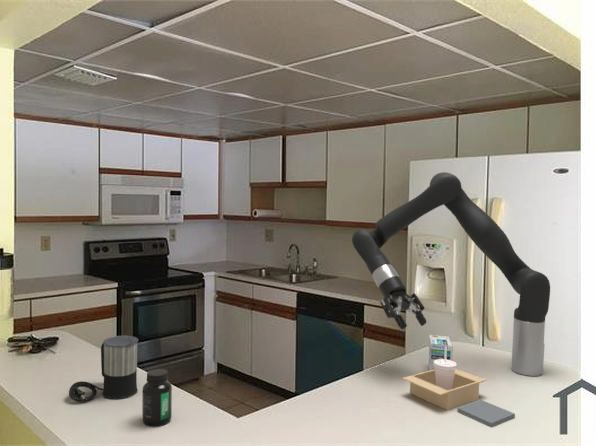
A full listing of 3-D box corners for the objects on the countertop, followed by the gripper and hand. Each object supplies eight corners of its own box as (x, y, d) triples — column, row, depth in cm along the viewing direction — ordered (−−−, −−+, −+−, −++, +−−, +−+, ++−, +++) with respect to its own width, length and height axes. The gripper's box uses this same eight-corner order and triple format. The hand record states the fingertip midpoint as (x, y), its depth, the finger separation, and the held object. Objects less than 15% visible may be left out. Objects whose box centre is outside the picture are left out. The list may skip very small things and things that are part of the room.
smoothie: (455, 393, 140) (458, 345, 139) (455, 402, 134) (457, 352, 133) (432, 390, 142) (434, 342, 141) (431, 398, 136) (433, 349, 135)
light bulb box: (452, 380, 151) (453, 345, 150) (429, 377, 152) (431, 343, 152) (448, 368, 161) (450, 335, 161) (427, 366, 163) (428, 334, 162)
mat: (480, 403, 134) (480, 399, 134) (514, 417, 126) (514, 413, 126) (457, 411, 128) (457, 407, 128) (491, 427, 120) (491, 423, 120)
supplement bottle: (172, 425, 117) (172, 376, 116) (141, 428, 115) (142, 378, 114) (171, 413, 123) (171, 366, 123) (142, 416, 121) (142, 368, 121)
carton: (447, 381, 149) (447, 365, 149) (485, 397, 138) (486, 379, 138) (401, 395, 138) (402, 377, 138) (439, 413, 127) (440, 394, 127)
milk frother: (145, 390, 137) (145, 338, 136) (100, 412, 123) (100, 354, 122) (107, 381, 143) (108, 331, 142) (61, 401, 129) (61, 345, 128)
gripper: (378, 276, 149) (404, 322, 140) (410, 273, 157) (437, 316, 148) (365, 290, 154) (390, 336, 145) (398, 287, 162) (423, 329, 153)
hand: (414, 326), depth 147 cm, fingers open, 8 cm apart
